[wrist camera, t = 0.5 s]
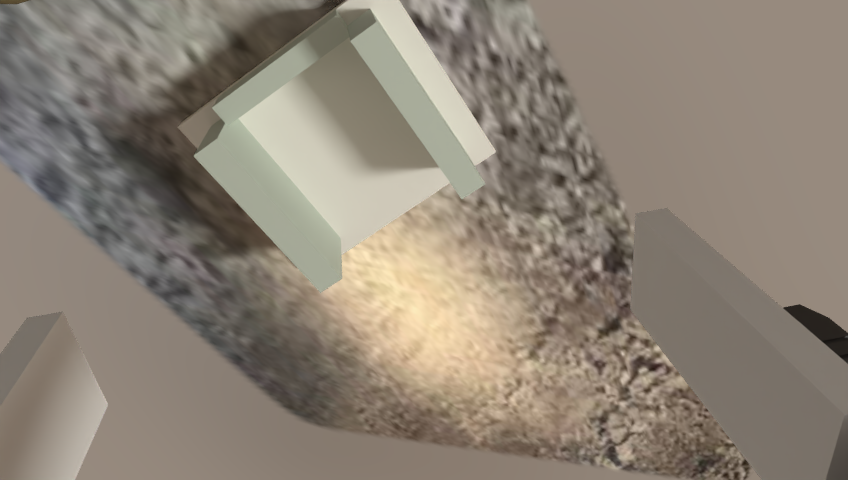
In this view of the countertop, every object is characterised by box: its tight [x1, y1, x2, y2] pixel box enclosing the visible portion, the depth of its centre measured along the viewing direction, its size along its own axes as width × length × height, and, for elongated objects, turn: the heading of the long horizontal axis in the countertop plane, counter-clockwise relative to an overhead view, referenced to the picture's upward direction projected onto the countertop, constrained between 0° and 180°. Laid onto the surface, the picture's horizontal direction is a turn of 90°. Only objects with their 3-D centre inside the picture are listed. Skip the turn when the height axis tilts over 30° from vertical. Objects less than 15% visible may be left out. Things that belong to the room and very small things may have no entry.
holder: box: [178, 0, 496, 293], centre depth 34 cm, size 12×14×6 cm
